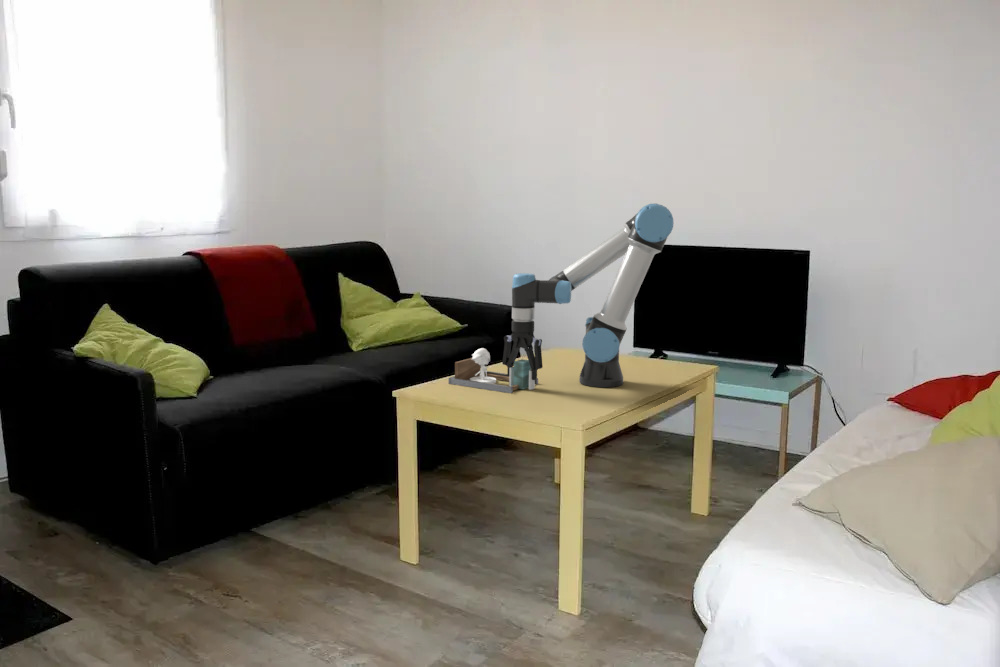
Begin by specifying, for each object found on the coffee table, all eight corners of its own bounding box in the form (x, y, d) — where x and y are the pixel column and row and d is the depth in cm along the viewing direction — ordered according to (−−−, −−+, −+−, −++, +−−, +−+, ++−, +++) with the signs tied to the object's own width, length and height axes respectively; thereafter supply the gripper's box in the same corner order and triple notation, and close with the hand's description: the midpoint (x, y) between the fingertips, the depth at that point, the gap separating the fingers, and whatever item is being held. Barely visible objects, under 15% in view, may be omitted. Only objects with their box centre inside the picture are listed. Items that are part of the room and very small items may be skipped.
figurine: (496, 385, 295) (496, 350, 293) (469, 385, 295) (469, 350, 293) (496, 379, 304) (496, 346, 302) (470, 379, 304) (470, 345, 302)
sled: (537, 384, 296) (537, 358, 294) (515, 391, 284) (516, 364, 283) (477, 375, 309) (477, 350, 308) (454, 382, 298) (454, 356, 296)
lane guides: (538, 383, 298) (538, 378, 297) (510, 393, 283) (510, 387, 283) (477, 375, 311) (477, 369, 311) (448, 383, 297) (448, 377, 297)
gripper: (554, 321, 285) (553, 389, 289) (504, 316, 296) (503, 381, 300) (543, 324, 279) (541, 393, 283) (491, 318, 290) (491, 385, 293)
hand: (521, 387), depth 291 cm, fingers open, 7 cm apart
